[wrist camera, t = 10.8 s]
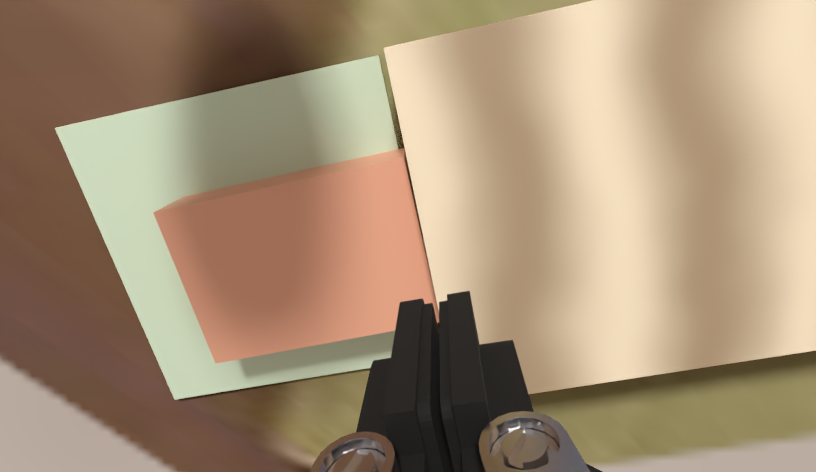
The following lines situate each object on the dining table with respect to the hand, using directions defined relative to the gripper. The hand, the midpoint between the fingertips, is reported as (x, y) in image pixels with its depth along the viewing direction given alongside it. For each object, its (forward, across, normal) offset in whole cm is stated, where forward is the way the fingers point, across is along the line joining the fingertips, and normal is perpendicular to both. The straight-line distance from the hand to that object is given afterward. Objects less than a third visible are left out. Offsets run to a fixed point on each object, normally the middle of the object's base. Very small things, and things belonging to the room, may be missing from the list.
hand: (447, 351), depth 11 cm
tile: (+10, +6, 0) cm, 12 cm away
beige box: (+11, -9, 0) cm, 14 cm away
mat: (+10, +8, 0) cm, 13 cm away
